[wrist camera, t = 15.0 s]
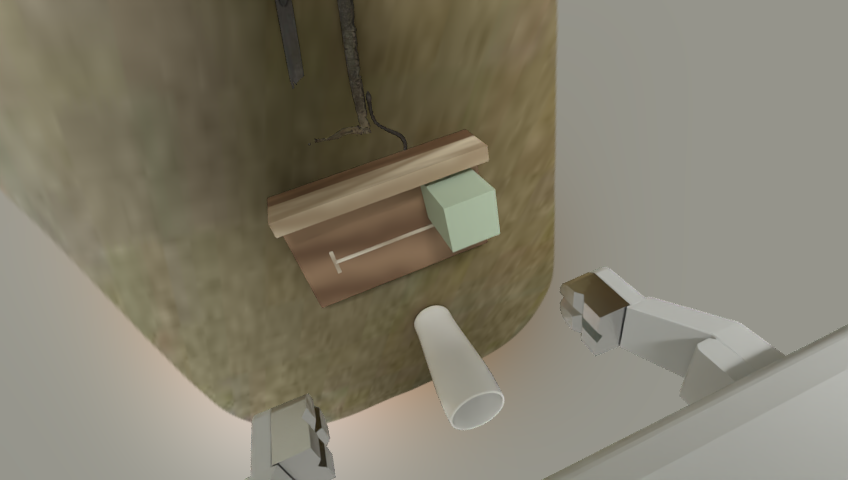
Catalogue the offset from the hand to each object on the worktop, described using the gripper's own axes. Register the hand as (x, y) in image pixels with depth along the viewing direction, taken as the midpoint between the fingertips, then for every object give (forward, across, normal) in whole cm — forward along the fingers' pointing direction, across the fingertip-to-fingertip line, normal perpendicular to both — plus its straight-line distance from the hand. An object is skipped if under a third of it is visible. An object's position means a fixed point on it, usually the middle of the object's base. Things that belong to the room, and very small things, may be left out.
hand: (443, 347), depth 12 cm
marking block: (+27, -9, +12) cm, 31 cm away
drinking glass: (+29, -4, +32) cm, 43 cm away
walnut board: (+29, -2, +14) cm, 32 cm away
